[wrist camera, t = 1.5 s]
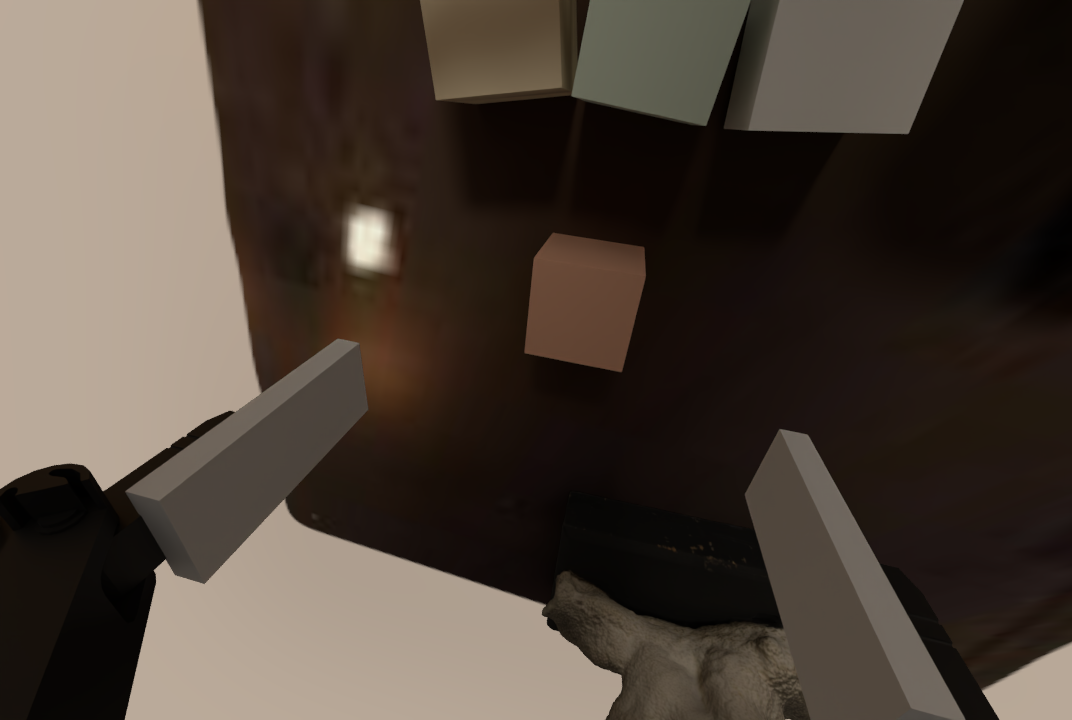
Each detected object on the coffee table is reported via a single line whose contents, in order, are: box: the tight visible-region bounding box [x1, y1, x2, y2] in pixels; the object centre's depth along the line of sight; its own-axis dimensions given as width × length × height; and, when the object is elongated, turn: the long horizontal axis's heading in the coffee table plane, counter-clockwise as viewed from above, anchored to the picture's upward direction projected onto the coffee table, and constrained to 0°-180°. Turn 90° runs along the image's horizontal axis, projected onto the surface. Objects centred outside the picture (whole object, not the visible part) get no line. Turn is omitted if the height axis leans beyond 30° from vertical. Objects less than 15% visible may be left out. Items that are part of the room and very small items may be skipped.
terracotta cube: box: [524, 233, 646, 372], centre depth 22 cm, size 5×5×5 cm
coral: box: [542, 491, 811, 720], centre depth 24 cm, size 25×20×22 cm
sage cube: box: [571, 0, 751, 126], centre depth 16 cm, size 5×5×5 cm
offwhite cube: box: [724, 0, 964, 134], centre depth 15 cm, size 5×5×5 cm
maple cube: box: [420, 0, 578, 104], centre depth 16 cm, size 5×5×5 cm
